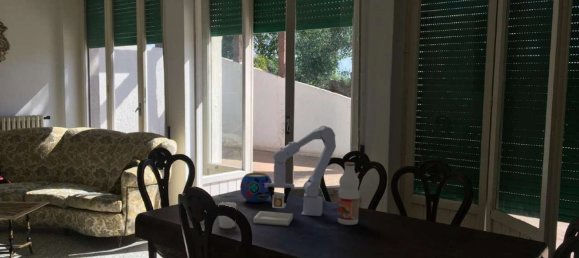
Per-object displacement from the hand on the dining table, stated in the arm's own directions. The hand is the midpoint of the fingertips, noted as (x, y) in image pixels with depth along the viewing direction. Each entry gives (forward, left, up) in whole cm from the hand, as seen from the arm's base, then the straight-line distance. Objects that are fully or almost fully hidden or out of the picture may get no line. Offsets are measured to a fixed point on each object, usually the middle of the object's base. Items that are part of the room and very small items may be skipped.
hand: (279, 202), depth 228 cm
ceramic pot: (+17, -22, -6) cm, 29 cm away
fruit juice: (-34, +6, -6) cm, 35 cm away
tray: (0, +13, -6) cm, 14 cm away
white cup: (+18, +26, -6) cm, 32 cm away
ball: (0, +2, 0) cm, 2 cm away
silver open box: (0, 0, -2) cm, 2 cm away
